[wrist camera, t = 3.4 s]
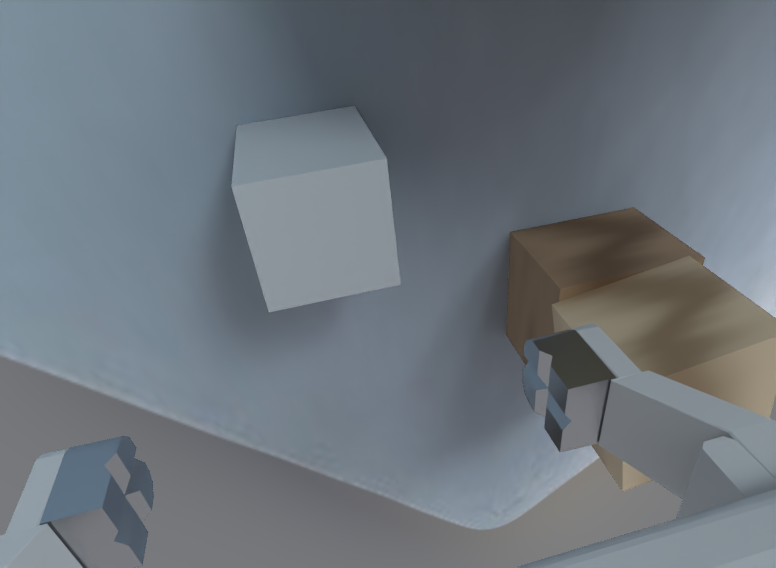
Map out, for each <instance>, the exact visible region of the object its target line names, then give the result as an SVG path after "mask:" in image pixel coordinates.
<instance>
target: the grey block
mask: <svg viewBox="0 0 776 568" xmlns="http://www.w3.org/2000/svg"><path fill="white" fill-rule="evenodd" d="M231 187H232V191H233V194H234V197H235V201H236V204H237V207H238V211H239V214H240V218H241V221H242V224H243V228H244V231H245V234H246V238H247V241H248V244H249V248H250V251H251V255H252V258H253V261H254V265H255V268H256V271H257V275H258V278H259V281H260V285H261V288H262V292H263V295H264V298H265V302H266V305H267V308H268V312H274V311H279V310H284V309H288V308H293V307H298V306H303V305H307V304H312V303H317V302H322V301H326V300H331V299H336V298H341V297H345V296H350V295H355V294H359V293H364V292H369V291H374V290H378V289H383V288H388V287H393V286H397V285H401V282H400V273H399V264H398V255H397V245H396V236H395V227H394V218H393V209H392V200H391V191H390V182H389V173H388V164H387V158H386V156H385V155H384V153H383V151H382V150H381V148H380V146H379V145H378V143H377V142H376V140H375V138H374V137H373V135H372V133H371V132H370V130H369V129H368V127H367V125H366V124H365V122H364V120H363V119H362V117H361V115H360V114H359V112H358V111H357V109H356V107H355V106H350V107H344V108H338V109H332V110H326V111H320V112H314V113H308V114H302V115H296V116H290V117H284V118H278V119H272V120H266V121H260V122H254V123H248V124H242V125H237V130H236V141H235V152H234V163H233V174H232V185H231Z"/></svg>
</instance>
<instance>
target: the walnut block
mask: <svg viewBox="0 0 776 568" xmlns="http://www.w3.org/2000/svg"><path fill="white" fill-rule="evenodd" d="M687 256H691V257H692V258H693V259H695V260H696V261H697V262H699V263H700V264H702V265H703V263H704V259H705V257H703V256H702V255H700V254H699V253H698V252H696V251H695V250H693V249H692V248H691V247H689V246H688V245H686V244H685V243H683V242H682V241H681V240H679V239H678V238H676V237H675V236H674V235H672V234H671V233H669V232H668V231H666V230H665V229H664V228H662V227H661V226H659V225H658V224H656V223H655V222H654V221H652V220H651V219H649V218H648V217H647V216H645V215H644V214H642V213H641V212H639V211H638V210H637V209H635V208H629V209H624V210H619V211H614V212H609V213H604V214H599V215H594V216H589V217H584V218H579V219H573V220H568V221H563V222H558V223H553V224H548V225H543V226H538V227H533V228H528V229H523V230H518V231H513V232H510V256H509V281H508V307H507V333H506V335H507V336H508V338H509V340H510V341H511V343H512V344H513V346H514V347H515V349H516V350H517V352H518V354H519V355H520V357H521V358H522V360H523V361H524V363H525V365H527V363H528V360H527V359H526V357H525V356H524V345H525V342H526V340H528V339H532V338H536V337H540V336H544V335H548V334H552V333H555V332H554V322H553V313H552V304H554V303H557V302H560V301H563V300H566V299H569V298H571V297H574V296H577V295H580V294H583V293H585V292H588V291H591V290H594V289H597V288H599V287H602V286H605V285H608V284H611V283H614V282H616V281H619V280H622V279H625V278H628V277H630V276H633V275H636V274H639V273H642V272H644V271H647V270H650V269H653V268H656V267H659V266H661V265H664V264H667V263H670V262H673V261H675V260H678V259H681V258H684V257H687Z"/></svg>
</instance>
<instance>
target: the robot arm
mask: <svg viewBox="0 0 776 568" xmlns="http://www.w3.org/2000/svg"><path fill="white" fill-rule="evenodd" d="M524 356H525V357H526V359H527V360H528V363H527V365H526V366H525V367H524V369H523V375H522V382H523V386H524V391H525V395H526V397H527V399H528V402H529V404H530V405H531V407H532V409H533V410H534V412H536V413H538V414H540V415H542V416H543V417H545V427H544V428H545V430H546V431H547V433H548V434H549V436H550V437H551V439H552V441H553V442H554V444H555V445H556V447H557V448H558V450H559V452H564V451H568V450H572V449H576V448H580V447H584V446H589V445H593V444H597V443H599V446H601V447H602V448H604V449H605V450H607V451H608V452H610V453H611V454H613V455H615V456H616V457H618V458H619V459H621V460H622V461H624V462H625V463H627V464H629V465H630V466H632V467H633V468H635V469H636V470H638V471H639V472H641V473H643V474H644V475H646V476H647V477H649V478H650V479H652V480H653V481H655V482H656V483H658V484H660V485H661V486H663V487H664V488H666V489H667V490H669V491H671V492H672V493H674V494H675V495H677V496H678V497H680V498H682V499H683V500H682V503H681V506H680V509H679V511H678V514H677V517H676V519H675V520H672V521H668V522H664V523H661V524H658V525H654V526H651V527H648V528H644V529H641V530H638V531H634V532H631V533H628V534H624V535H621V536H618V537H614V538H611V539H608V540H604V541H601V542H598V543H594V544H591V545H588V546H584V547H581V548H577V549H574V550H571V551H568V552H564V553H561V554H558V555H554V556H551V557H547V558H544V559H541V560H537V561H534V562H531V563H527V564H524V565H521V566H517V567H514V568H776V422H775V421H774V420H772V419H769V418H767V417H764V416H762V415H759V414H757V413H754V412H751V411H749V410H746V409H744V408H741V407H739V406H736V405H734V404H731V403H729V402H726V401H724V400H721V399H719V398H716V397H714V396H711V395H709V394H706V393H704V392H701V391H699V390H696V389H694V388H691V387H689V386H686V385H684V384H681V383H679V382H676V381H674V380H671V379H669V378H666V377H664V376H661V375H659V374H656V373H654V372H651V371H649V370H648V371H644V372H642V371H641V370H640V369H639V368H638V367H637V366H636V365H635V364H634V363H633V362H632V361H631V360H630V359H629V358H628V357H627V356H626V355H625V354H624V353H623V351H622V350H621V349H620V348H619V347H618V346H617V345H616V344H615V343H614V342H613V341H612V340H611V339H610V338H609V337H608V336H607V335H606V334H605V333H604V332H603V330H602V329H601V328H600V327H599V326H598V325H595V324H593V323H592V324H588V325H584V326H580V327H576V328H572V329H570V330H564V331H560V332H556V333H552V334H548V335H544V336H540V337H536V338H532V339H528V340H526V342H525V345H524ZM135 452H136V446H135V445H134V443H133V442H132V440H131V438H130V437H128V436H122V437H117V438H112V439H107V440H103V441H98V442H93V443H89V444H84V445H80V446H75V447H70V448H68V449H64V450H59V451H54V452H50V453H45V454H42V455H41V456H40V457H39V458H38V459H37V460H36V461H35V463H34V465H33V467H32V470H31V472H30V475H29V477H28V480H27V482H26V484H25V487H24V489H23V492H22V494H21V496H20V499H19V501H18V504H17V506H16V509H15V511H14V513H13V516H12V518H11V521H10V523H9V525H8V528H7V530H6V533H5V534H4V535H0V568H136V567H139V566H142V565H143V559H144V553H145V548H146V542H147V536H148V531H147V529H146V528H145V526H144V525H143V523H142V522H143V521H144V520H145V518H146V517H147V516H148V515H149V513H150V512H151V511H152V505H153V498H154V496H153V495H154V494H153V481H152V478H151V474H150V471H149V469H148V467H147V465H146V464H145V462H142V461H140V460H138V459H136V458H134V457H135Z"/></svg>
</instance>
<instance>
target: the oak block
mask: <svg viewBox="0 0 776 568" xmlns="http://www.w3.org/2000/svg"><path fill="white" fill-rule="evenodd" d="M552 313H553V322H554V332H555V333H556V332H560V331H564V330H570V329H572V328H576V327H580V326H584V325H588V324H592V323H593V324H595V325H598V326H599V327H600V328H601V329H602V330H603V332H604V333H605V334H606V335H607V336H608V337H609V338H610V339H611V340H612V341H613V342H614V343H615V344H616V345H617V346H618V347H619V348H620V349H621V350H622V351H623V353H624V354H625V355H626V356H627V357H628V358H629V359H630V360H631V361H632V362H633V363H634V364H635V365H636V366H637V367H638V368H639V369H640V370H641V371H642V372H644V371H648V370H649V371H651V372H654V373H656V374H659V375H661V376H664V377H666V378H669V379H671V380H674V381H676V382H679V383H681V384H684V385H686V386H689V387H691V388H694V389H696V390H699V391H701V392H704V393H706V394H709V395H711V396H714V397H716V398H719V399H721V400H724V401H726V402H729V403H731V404H734V405H736V406H739V407H741V408H744V409H746V410H749V411H751V412H754V413H757V414H759V415H762V416H764V417H767V418H770V414H771V411H772V407H773V403H774V399H775V396H776V318H775V317H773V316H772V315H771V314H769V313H768V312H766V311H765V310H764V309H762V308H761V307H760V306H758V305H757V304H755V303H754V302H753V301H751V300H750V299H748V298H747V297H746V296H744V295H743V294H742V293H740V292H739V291H737V290H736V289H735V288H733V287H732V286H731V285H729V284H728V283H726V282H725V281H724V280H722V279H721V278H720V277H718V276H717V275H715V274H714V273H713V272H711V271H710V270H709V269H707V268H706V267H704V266H703V265H702V264H700V263H699V262H697V261H696V260H695V259H693V258H692V257H691V256H687V257H684V258H681V259H678V260H675V261H673V262H670V263H667V264H664V265H661V266H659V267H656V268H653V269H650V270H647V271H644V272H642V273H639V274H636V275H633V276H630V277H628V278H625V279H622V280H619V281H616V282H614V283H611V284H608V285H605V286H602V287H599V288H597V289H594V290H591V291H588V292H585V293H583V294H580V295H577V296H574V297H571V298H569V299H566V300H563V301H560V302H557V303H554V304H552ZM592 447H593V448H594V450H595V451H596V453H597V454H598V456H599V457H600V459H601V460H602V462H603V463H604V465H605V466H606V468H607V469H608V471H609V472H610V474H611V475H612V477H613V478H614V480H615V481H616V483H617V484H618V486H619V487H620V489H621V490H622V491H626V490H628V489H631V488H634V487H636V486H639V485H642V484H645V483H647V482H650V481H653V480H652V479H650V478H649V477H647V476H646V475H644V474H643V473H641V472H639V471H638V470H636V469H635V468H633V467H632V466H630V465H629V464H627V463H625V462H624V461H622V460H621V459H619V458H618V457H616V456H615V455H613V454H611V453H610V452H608V451H607V450H605V449H604V448H602V447H601V446H599V443H597V444H593V445H592Z"/></svg>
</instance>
